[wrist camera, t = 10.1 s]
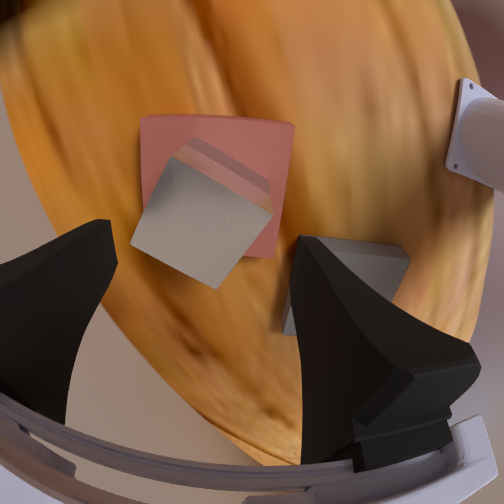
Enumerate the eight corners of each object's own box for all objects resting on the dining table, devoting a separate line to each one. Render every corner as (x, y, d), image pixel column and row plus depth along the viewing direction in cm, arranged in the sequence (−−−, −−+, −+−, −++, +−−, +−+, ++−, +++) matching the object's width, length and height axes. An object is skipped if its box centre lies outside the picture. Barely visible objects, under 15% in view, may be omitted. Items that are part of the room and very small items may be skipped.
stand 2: (401, 246, 21) (411, 259, 19) (366, 321, 26) (372, 335, 24) (300, 234, 20) (304, 248, 19) (281, 318, 25) (282, 335, 23)
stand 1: (290, 122, 16) (294, 125, 14) (272, 243, 21) (273, 258, 19) (151, 114, 15) (140, 118, 14) (155, 233, 20) (147, 247, 19)
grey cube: (268, 180, 16) (273, 215, 12) (224, 240, 18) (216, 289, 14) (195, 136, 15) (171, 155, 10) (158, 203, 17) (129, 244, 13)
